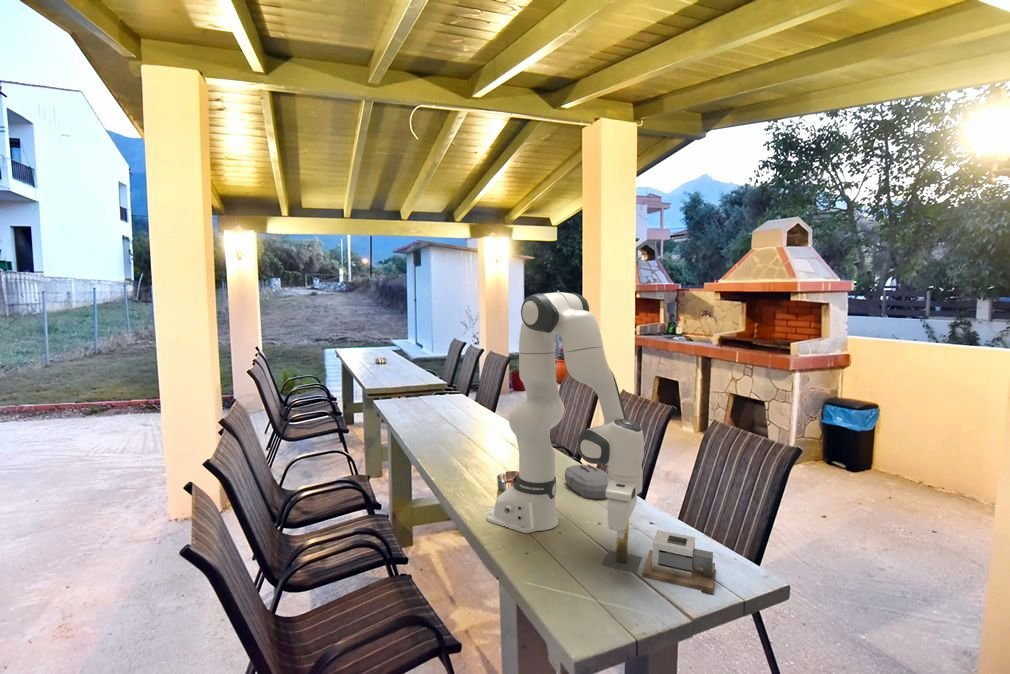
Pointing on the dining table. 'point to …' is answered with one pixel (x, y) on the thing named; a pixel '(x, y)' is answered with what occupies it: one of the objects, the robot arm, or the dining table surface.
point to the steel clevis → (679, 555)
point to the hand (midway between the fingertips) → (622, 533)
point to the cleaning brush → (587, 481)
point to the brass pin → (622, 546)
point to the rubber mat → (629, 566)
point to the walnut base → (681, 577)
